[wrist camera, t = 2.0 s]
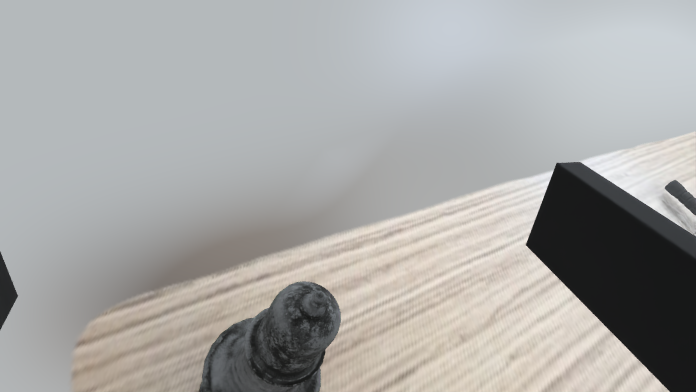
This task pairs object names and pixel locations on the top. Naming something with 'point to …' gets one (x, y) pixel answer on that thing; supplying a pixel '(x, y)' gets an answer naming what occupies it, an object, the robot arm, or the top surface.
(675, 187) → the knife
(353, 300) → the top surface
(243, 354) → the salt shaker
